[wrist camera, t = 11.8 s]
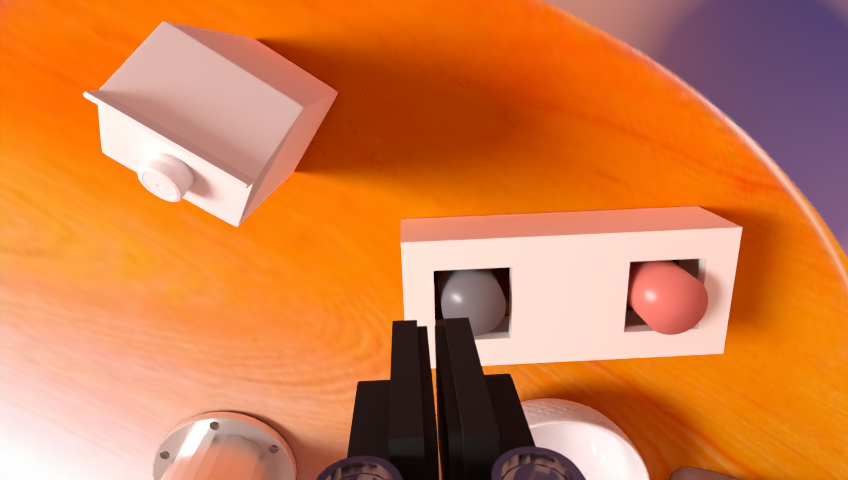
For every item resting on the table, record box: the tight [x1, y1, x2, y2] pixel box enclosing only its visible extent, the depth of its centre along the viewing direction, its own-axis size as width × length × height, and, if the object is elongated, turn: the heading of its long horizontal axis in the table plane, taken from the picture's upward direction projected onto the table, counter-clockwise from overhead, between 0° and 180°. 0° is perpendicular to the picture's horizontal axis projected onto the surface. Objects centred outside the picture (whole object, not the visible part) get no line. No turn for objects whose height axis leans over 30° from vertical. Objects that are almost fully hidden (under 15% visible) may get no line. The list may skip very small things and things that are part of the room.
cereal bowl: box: [520, 398, 650, 480], centre depth 47 cm, size 17×17×7 cm
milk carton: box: [83, 21, 338, 227], centre depth 31 cm, size 7×7×19 cm
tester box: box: [401, 206, 742, 368], centre depth 42 cm, size 10×24×6 cm, turn 92°
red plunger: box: [627, 260, 708, 335], centre depth 40 cm, size 5×5×6 cm
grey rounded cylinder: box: [437, 268, 506, 336], centre depth 41 cm, size 5×5×6 cm
